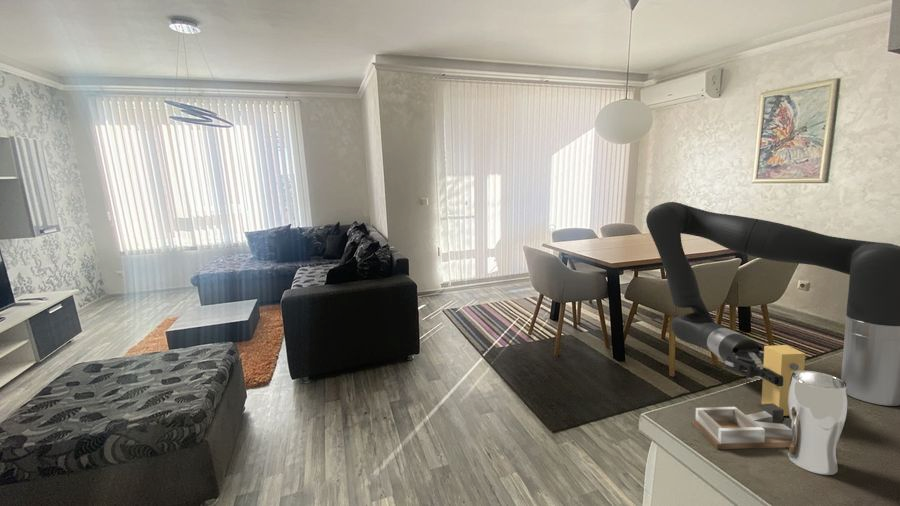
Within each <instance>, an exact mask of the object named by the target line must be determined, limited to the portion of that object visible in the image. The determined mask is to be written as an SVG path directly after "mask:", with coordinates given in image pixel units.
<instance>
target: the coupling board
mask: <svg viewBox="0 0 900 506" xmlns="http://www.w3.org/2000/svg"><path fill="white" fill-rule="evenodd" d="M783 413H784V410H783V409H781V408H780V407H778V406H777V405H775V404H774V403H772V404H763V405H762V411H759V412H754V413H750V414H745V413H744V412H742V411H741V410H740V409H738V408H737V407H736V406H718V407H717V406H716V407H715V406H714V407H711V406H710V407H695V418H692V419H691V425H692V426H693V427H694V428H695V429H696V430H697V431H698V432H699V433H700V434H701V435H702V436H703V437H704V438H705V439H706V440H707V441H708V442H709V443H710V444H711V445H712V446H713V447H714V448H715V449H717V450H729V449H732V450H733V449H739V450H741V449H770V448H771V449H773V448H774V449H776V448H778V449H779V448H790V445H791V442H792V428H791V422H790V417H786V418H785V417H784V416H783Z"/></svg>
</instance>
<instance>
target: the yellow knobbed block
mask: <svg viewBox="0 0 900 506" xmlns="http://www.w3.org/2000/svg"><path fill="white" fill-rule="evenodd" d="M763 347H764V349H763V350H764V363H763V365H764V366H765V367H766V369H767V368H768V369H770V370H772V371H774V372H776V373H777V374H779V375H781V376H782V377H783V386H776V385H775V384H773V383H771V382H769V381H767V380H765V379H762V386H761V387H762V388H761V405H762V406H763V404H772V403H774V404H775V405H777V406H778V407H780V408H781V409H783V410H784V413H783V417H784V416H786V417H787V416H788V417H790V416H789V409H788V393H789V386H790V380H791V373H792V372H794V371H800V370H805V360H806V353H805V352H803V351H800V350H798V349H796V348H794V347H792V346H789V345H787V344H782V345H781V344H778V345H776V344H775V345H764V346H763Z"/></svg>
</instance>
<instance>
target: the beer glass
mask: <svg viewBox="0 0 900 506" xmlns="http://www.w3.org/2000/svg"><path fill="white" fill-rule="evenodd" d="M788 409H789V416H788V417H789V418H790V422H791V428H792V442H791V445H790V447H788V450H787V451H788V452H787V457H788V459H789V460H790V461H791V462H792V463H793V464H794V465H796V466H798V467H799V468H801V469H803V470H805V471H808V472H811V473H813V474H817V475H823V476H832V475H836V474H837V473H838V470H839V467H838V461H837V456H836V455H837V453H836V452H837V451H836V449H837V444H838V442H839V440H840V437H841V434H842V431H843V428H844V426H845V422H846V419H847V413H848V395H847V384H846V383H845V382H844V381H842V380H841V378H839V377H836V376H833V375H831V374H828V373H823V372H819V371H816V370H815V371H813V370H805V369H804V370H800V371H794V372H792V373H791V380H790V386H789V393H788Z"/></svg>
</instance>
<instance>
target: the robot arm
mask: <svg viewBox="0 0 900 506" xmlns="http://www.w3.org/2000/svg"><path fill="white" fill-rule="evenodd" d="M645 220H646V221H645V222H646V226H647V228H648V231H649V233H650V236H651V239H652V240H653V243H654V245H655V246H656V249H657V252H658V254H659V257H660V259H661V264H662V266H663V268H664V269H663V270H664V272H665V276H666V280H667V283H668V288H669V292H670V297H671V300H672V303H673V304H674V306H675V307H676V308H680V309H681V308H683V309H687V308H689V309H691V310H692V312H690V313H686V314H682V315H678V316H675V317H674V318H673V319H672V321H671V322H670V323H671V324H670V327H671V330H672V333H673V334H674V335H675V337H676V338H678V339H679V340H680V341H682V342H685V343H688V344H691V345H695V346H698V347H703V348H704V349H707V350H708V351H709V352H712V353H713V355H715V356H716V357H718V358H719V359H721V360H722V361H724V362H725V363H724V364H725V365H724V367H725V369H729V370H731V371H733V372H736V373H738V374H740V375H742V376H745V377H747V378H750V379H751V378H752V379H753V378H755V377H757V378H759V379H762V380H763V379H765V380H767V381H769V382H771V383H773V384H775V385H776V386H783V377H782V376H781V375H779V374H777V373H776V372H774V371H772V370H770V369H768V368H767V369H766V367H765V366H764V365H763V363H764V349H763V347H762V346H761V344H760V343H759V342H757V341H755V340H754V339H752V338H750V337H747V336H745V335H743V334H741V333H740V332H736V331H735V330H733V329H732V330H731V329H729V328H727V327H725V326H722V325H720V324H717V323H716V322H715V320H714V318H713V316H712V314H711V313H710V311H709V310H708V308H707V306H706V304H705V303H704V301H703V299H702V296H701V293H700V289H699V288H700V287H699V283H698V280H697V277H696V274H695V272H694V270H693V267H692V265H691V264H690V262H689V260H688V258H687V256H686V254H685V251H684V247H683V243H682V235H683V234H684V235H689V236H693V237H694V236H695V237H699V238H703V239H706V240H709V241H711V242H713V243H715V244H717V245H720V246H722V247H723V248H725V249H728V250H731V251H733V252H736V253H739V254H743V255H746V256H748V257H749V256H751V257H754V258H757V259H761V260H767V261H774V262H780V263H790V264H801V265H810V266H816V267H821V268H824V269H827V270H828V269H829V270H831V271H836V272H840V273H842V274H845V275H849V281H848V295H847V301H846V314H845V327H844V337H843V338H844V339H843V340H844V341H843V352H842V353H843V354H842V364H841V376H840V379H841V380H842V381H844V382H845V383H846V384H847V396H849V397H852V398H853V399H857V400H860V401H863V402H866V403H870V404H874V405H879V406H888V407H889V406H891V407H895V406H900V245H896V244H893V243H888V242H879V241H878V242H877V241H869V240H861V239H860V240H859V239H853V238H846V237H836V236H831V235H827V234H824V233H819V232H815V231H812V230H808V229H804V228H800V227H798V226H792V225H789V224H783V223H779V222H776V221H775V222H774V221H769V220H767V219H758V218H755V217H754V218H753V217H748V216H747V217H746V216H741V215H734V214H729V213H728V214H727V213H718V212H713V211H709V210H708V211H707V210H705V209H700V208H697V207H694V206H691V205H688V204H684V203H680V202H678V201H677V202H676V201H668V202H664V203H661V204H658V205H655V206H654V207H652V208H651V209H650V210H649V212H648V213H647V215H646V219H645Z"/></svg>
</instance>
